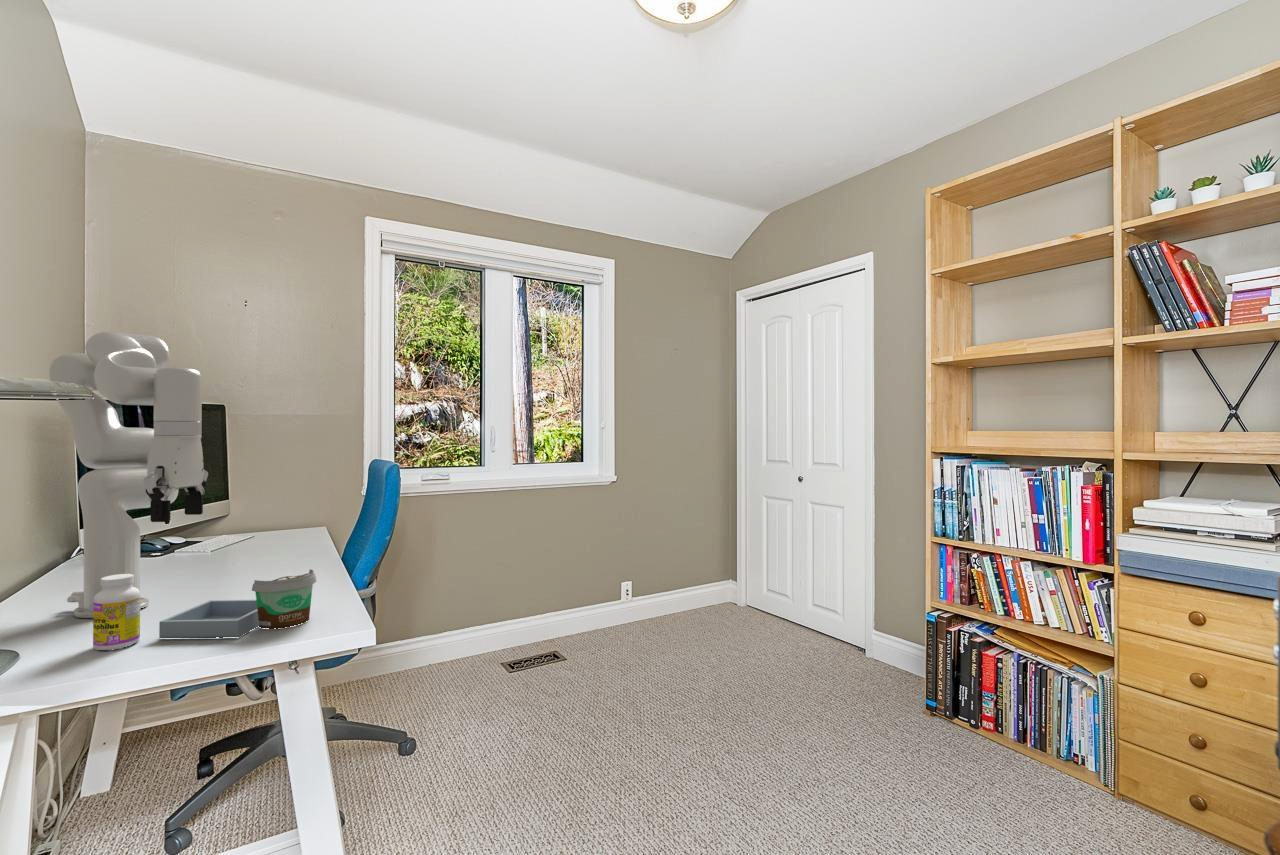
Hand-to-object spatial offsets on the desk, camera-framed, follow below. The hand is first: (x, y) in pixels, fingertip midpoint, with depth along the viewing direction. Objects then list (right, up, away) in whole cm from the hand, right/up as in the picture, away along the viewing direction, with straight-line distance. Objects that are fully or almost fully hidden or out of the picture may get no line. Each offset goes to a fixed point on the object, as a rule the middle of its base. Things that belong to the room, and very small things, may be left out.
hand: (177, 517), depth 120 cm
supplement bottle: (-7, -23, -6) cm, 25 cm away
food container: (+19, -23, +6) cm, 30 cm away
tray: (+6, -23, +4) cm, 24 cm away
